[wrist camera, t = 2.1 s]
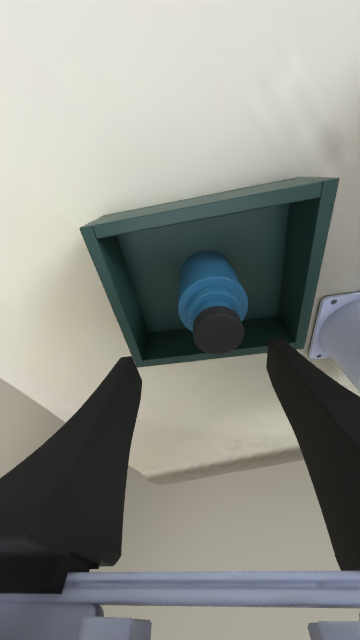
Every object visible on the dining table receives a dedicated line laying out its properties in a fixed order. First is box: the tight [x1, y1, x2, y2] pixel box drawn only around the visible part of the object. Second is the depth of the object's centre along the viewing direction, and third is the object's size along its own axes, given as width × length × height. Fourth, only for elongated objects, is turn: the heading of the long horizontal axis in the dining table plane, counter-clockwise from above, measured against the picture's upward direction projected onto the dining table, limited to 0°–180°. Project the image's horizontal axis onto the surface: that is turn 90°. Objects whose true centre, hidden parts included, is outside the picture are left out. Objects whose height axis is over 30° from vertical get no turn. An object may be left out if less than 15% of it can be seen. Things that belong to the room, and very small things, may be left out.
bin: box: [80, 177, 339, 367], centre depth 17 cm, size 15×12×5 cm
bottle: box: [178, 250, 248, 354], centre depth 15 cm, size 5×5×8 cm
